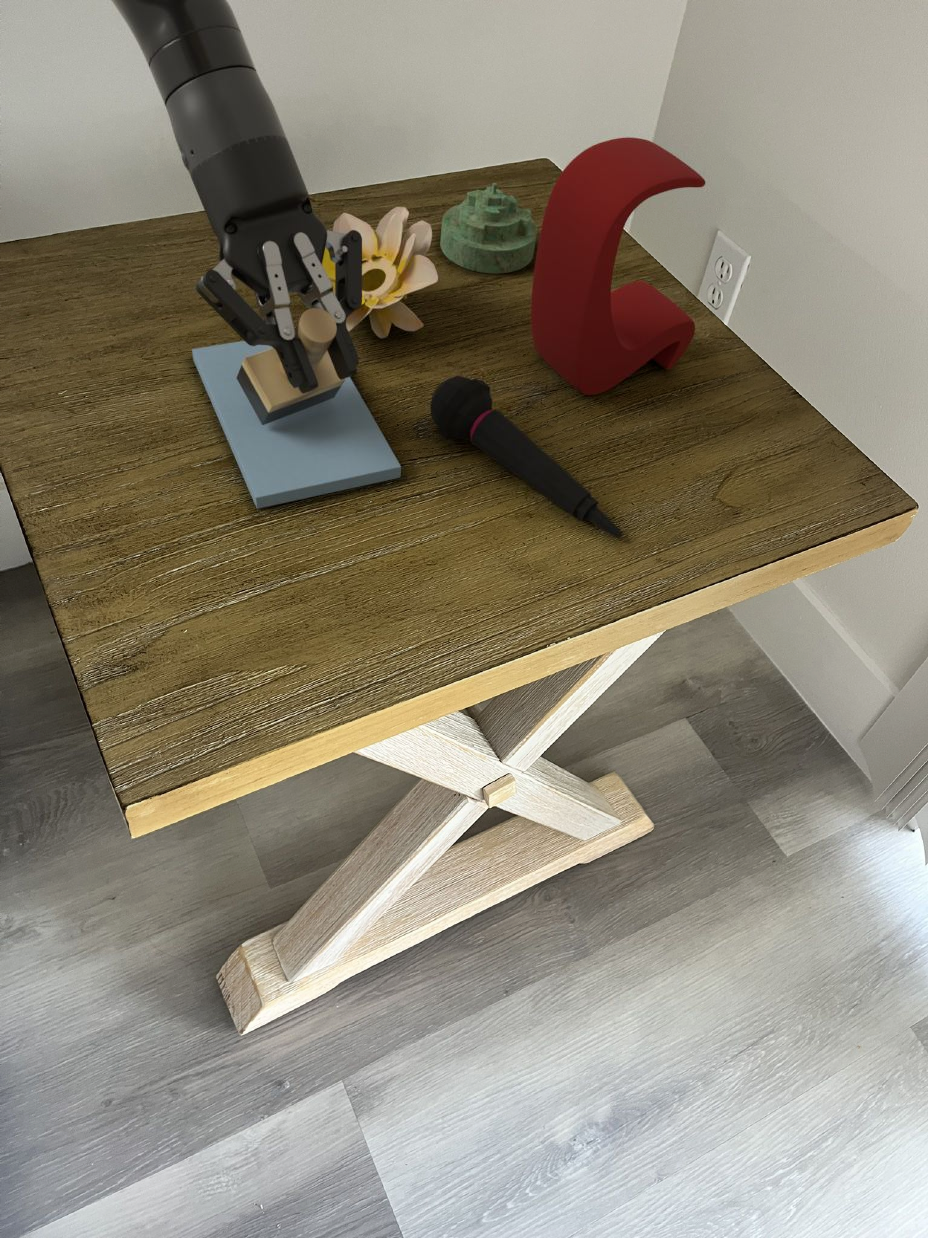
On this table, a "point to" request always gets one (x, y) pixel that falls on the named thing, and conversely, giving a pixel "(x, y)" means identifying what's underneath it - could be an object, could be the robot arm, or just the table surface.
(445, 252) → the decorative artifact
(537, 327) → the red curved piece
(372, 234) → the decorative flower
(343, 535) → the table surface
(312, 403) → the wooden stamp
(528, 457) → the microphone
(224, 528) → the table surface
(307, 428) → the mat
